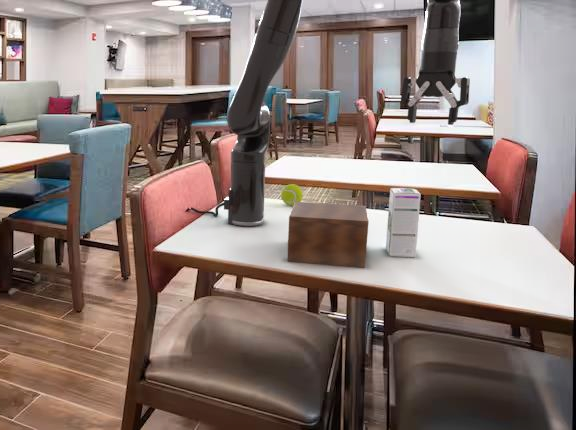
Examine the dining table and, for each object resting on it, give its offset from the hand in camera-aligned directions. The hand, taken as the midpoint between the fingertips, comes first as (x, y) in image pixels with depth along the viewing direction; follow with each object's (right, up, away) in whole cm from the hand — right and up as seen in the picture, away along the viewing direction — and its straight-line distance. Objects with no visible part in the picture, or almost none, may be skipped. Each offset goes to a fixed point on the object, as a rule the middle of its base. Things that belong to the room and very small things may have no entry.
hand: (431, 123), depth 125 cm
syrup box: (-9, -30, -3) cm, 31 cm away
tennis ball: (-24, -18, +44) cm, 54 cm away
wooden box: (-25, -30, -4) cm, 40 cm away
